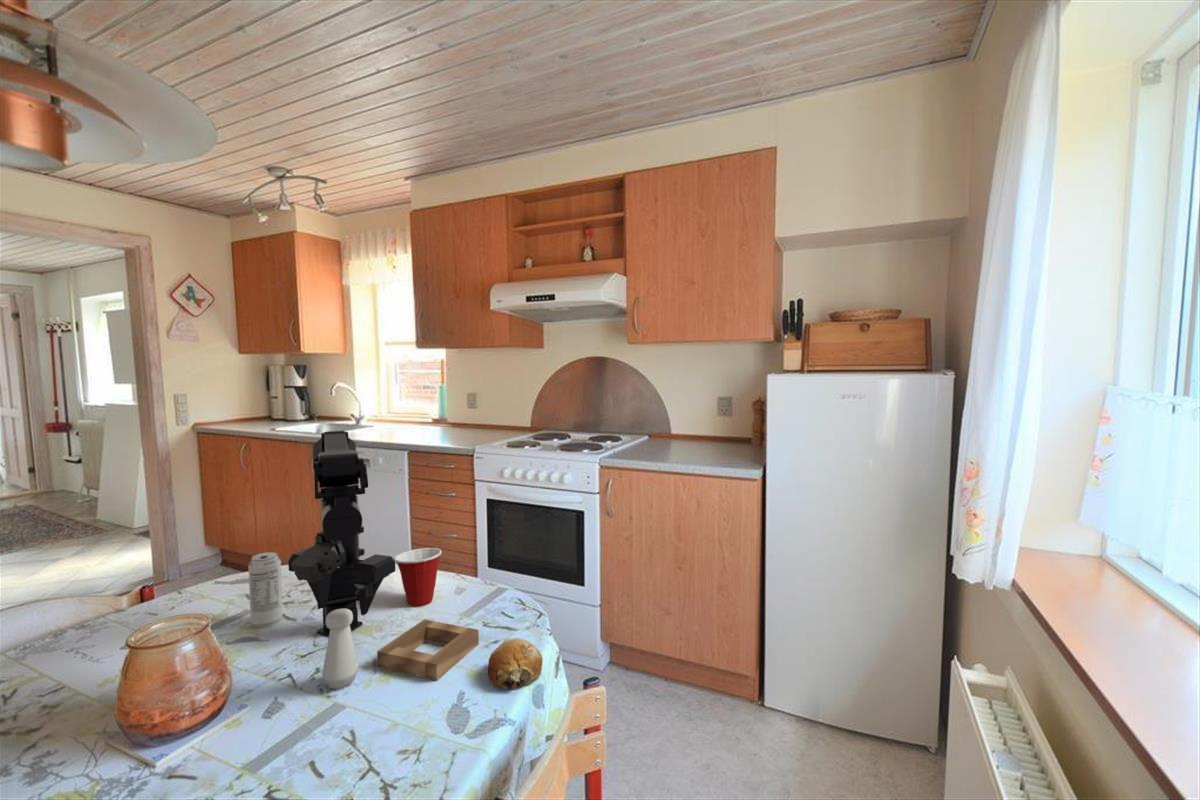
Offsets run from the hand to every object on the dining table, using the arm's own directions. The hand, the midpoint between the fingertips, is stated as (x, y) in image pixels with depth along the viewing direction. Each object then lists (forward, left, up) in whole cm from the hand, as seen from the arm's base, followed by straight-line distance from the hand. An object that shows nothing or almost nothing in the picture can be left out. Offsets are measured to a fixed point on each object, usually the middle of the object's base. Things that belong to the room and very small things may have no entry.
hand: (343, 610), depth 92 cm
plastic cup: (-9, +31, -13) cm, 35 cm away
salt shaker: (0, -1, -13) cm, 13 cm away
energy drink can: (-34, +11, -13) cm, 39 cm away
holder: (+9, +12, -13) cm, 20 cm away
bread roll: (+28, +12, -13) cm, 33 cm away
